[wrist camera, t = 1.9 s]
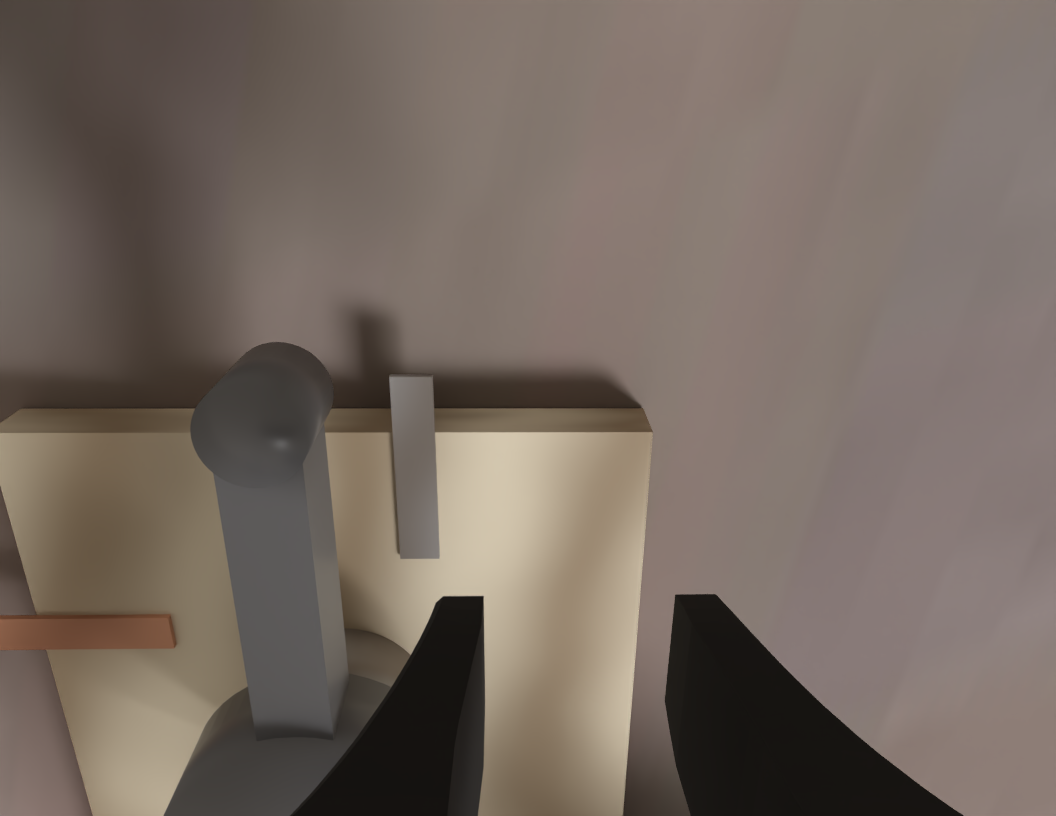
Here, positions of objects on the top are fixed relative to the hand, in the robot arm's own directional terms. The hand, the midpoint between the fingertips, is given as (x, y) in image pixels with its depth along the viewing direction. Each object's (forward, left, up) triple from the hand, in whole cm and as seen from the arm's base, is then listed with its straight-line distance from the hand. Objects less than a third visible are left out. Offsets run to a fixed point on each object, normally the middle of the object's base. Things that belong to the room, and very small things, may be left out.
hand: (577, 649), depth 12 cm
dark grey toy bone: (+6, +4, -5) cm, 9 cm away
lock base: (+6, +7, -9) cm, 13 cm away
